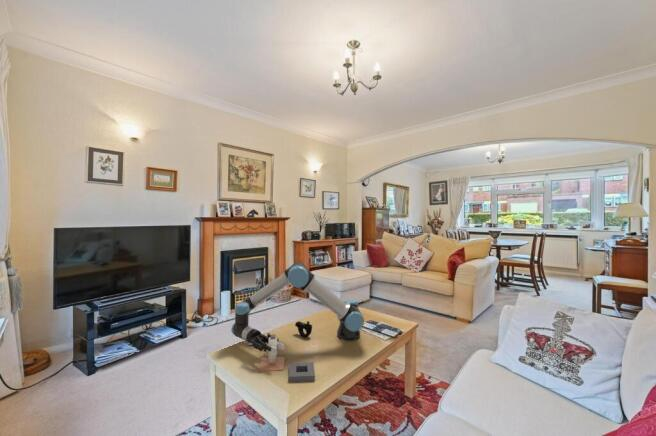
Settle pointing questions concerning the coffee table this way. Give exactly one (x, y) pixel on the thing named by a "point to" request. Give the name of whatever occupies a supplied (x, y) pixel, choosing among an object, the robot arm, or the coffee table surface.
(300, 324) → the controller
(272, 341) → the plug
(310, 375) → the socket block
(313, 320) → the coffee table surface
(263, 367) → the tile
